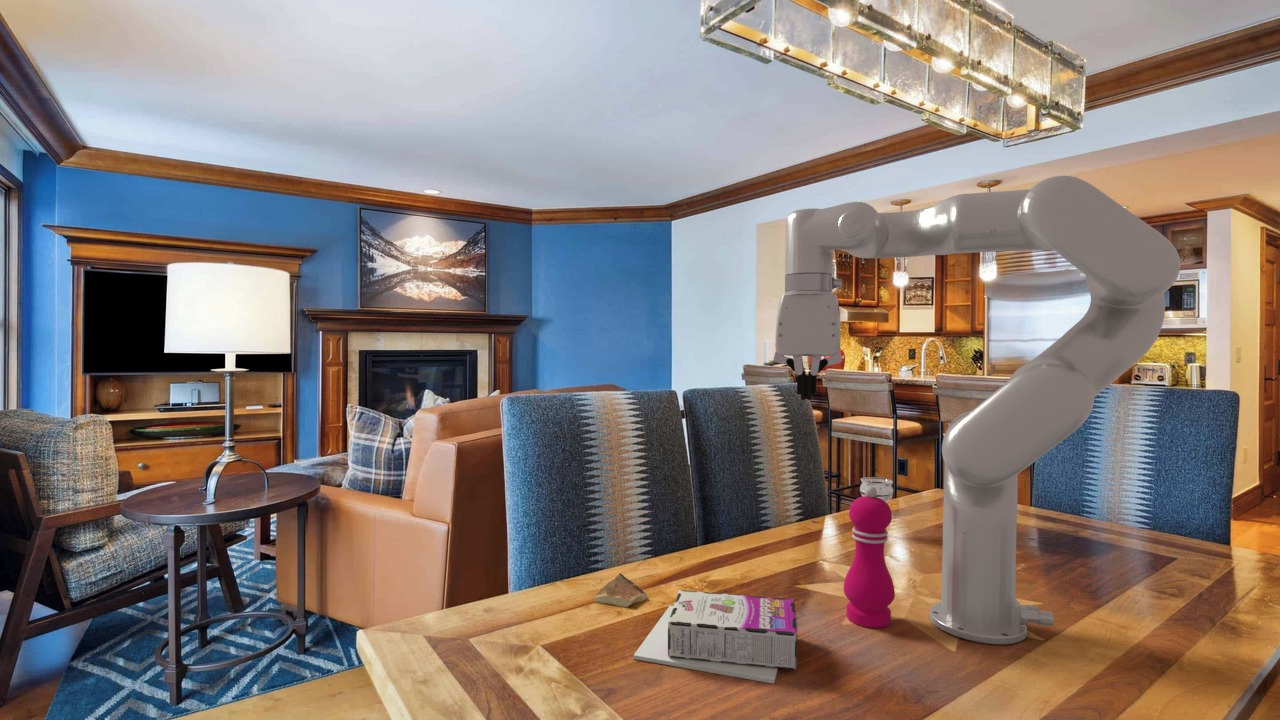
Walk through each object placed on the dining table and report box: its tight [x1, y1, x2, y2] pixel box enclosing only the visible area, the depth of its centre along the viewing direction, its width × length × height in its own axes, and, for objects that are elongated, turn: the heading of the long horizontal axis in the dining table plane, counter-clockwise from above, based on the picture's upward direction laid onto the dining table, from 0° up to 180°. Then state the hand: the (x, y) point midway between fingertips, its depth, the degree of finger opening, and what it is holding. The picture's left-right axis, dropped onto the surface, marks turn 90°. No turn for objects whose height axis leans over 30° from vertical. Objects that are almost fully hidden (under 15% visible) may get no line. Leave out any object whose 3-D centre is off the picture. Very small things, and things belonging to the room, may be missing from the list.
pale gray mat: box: [633, 605, 779, 684], centre depth 89 cm, size 18×17×1 cm
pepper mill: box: [843, 486, 896, 629], centre depth 97 cm, size 7×7×20 cm
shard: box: [594, 573, 648, 608], centre depth 106 cm, size 11×8×2 cm
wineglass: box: [859, 476, 894, 503], centre depth 140 cm, size 7×7×12 cm
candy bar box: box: [668, 589, 798, 670], centre depth 87 cm, size 11×5×16 cm
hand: (806, 399), depth 106 cm, fingers closed
